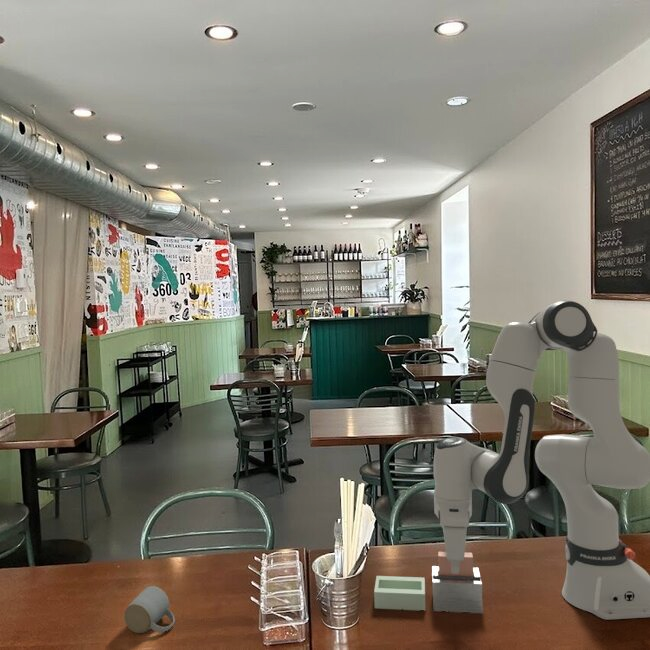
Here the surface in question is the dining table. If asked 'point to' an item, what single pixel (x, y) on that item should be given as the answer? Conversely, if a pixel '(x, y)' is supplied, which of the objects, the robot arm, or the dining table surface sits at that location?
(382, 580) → the stand
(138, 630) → the ceramic mug
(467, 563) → the ticket
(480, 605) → the dispenser
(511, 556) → the dining table surface
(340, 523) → the wineglass
